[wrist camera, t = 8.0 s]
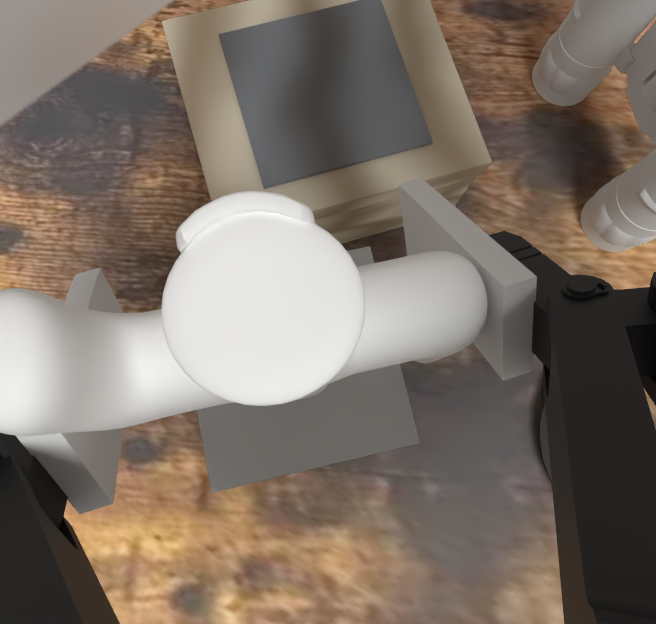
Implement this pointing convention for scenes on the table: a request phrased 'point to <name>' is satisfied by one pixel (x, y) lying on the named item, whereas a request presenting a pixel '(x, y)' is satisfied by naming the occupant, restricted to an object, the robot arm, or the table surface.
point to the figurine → (247, 344)
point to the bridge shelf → (327, 106)
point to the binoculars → (644, 95)
